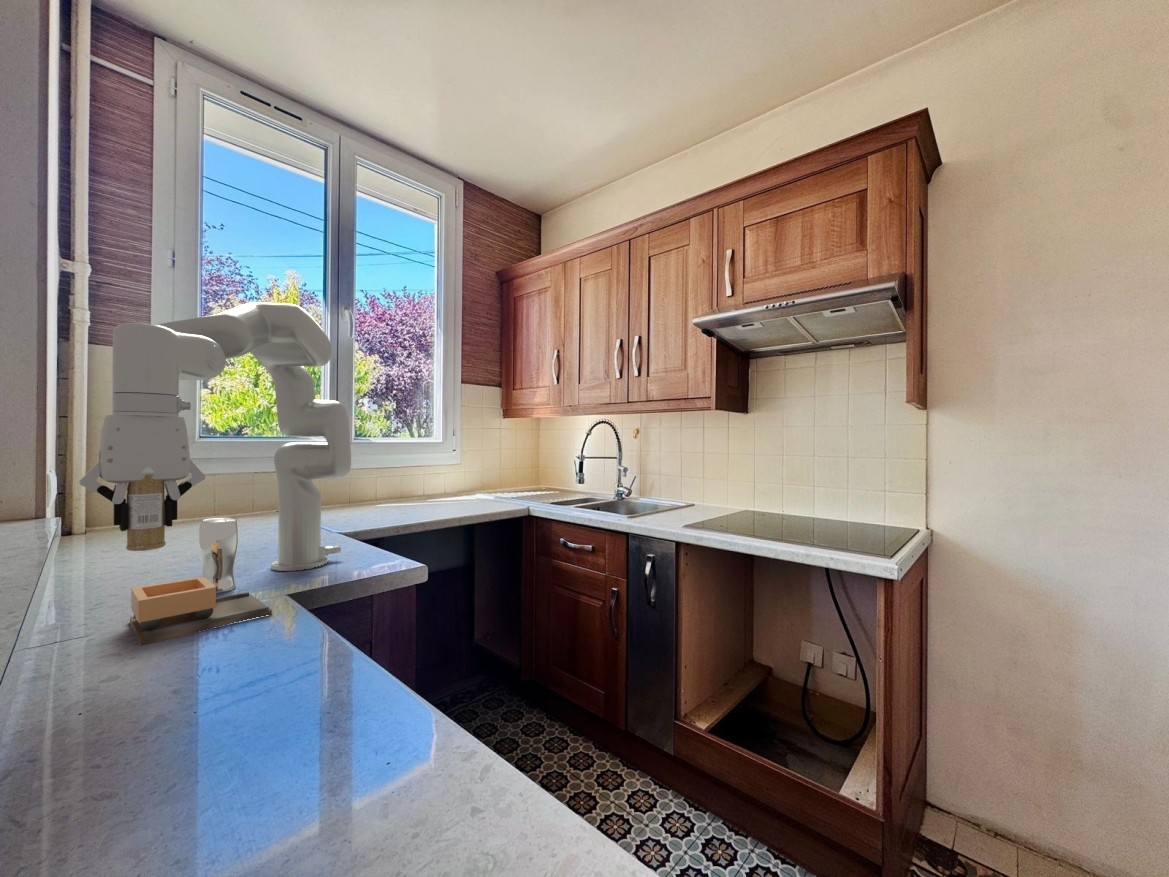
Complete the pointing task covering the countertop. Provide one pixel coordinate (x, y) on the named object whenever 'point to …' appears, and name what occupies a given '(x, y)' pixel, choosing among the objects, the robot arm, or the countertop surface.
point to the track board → (188, 623)
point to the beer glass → (219, 551)
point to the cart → (172, 600)
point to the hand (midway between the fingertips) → (146, 526)
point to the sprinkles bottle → (146, 514)
